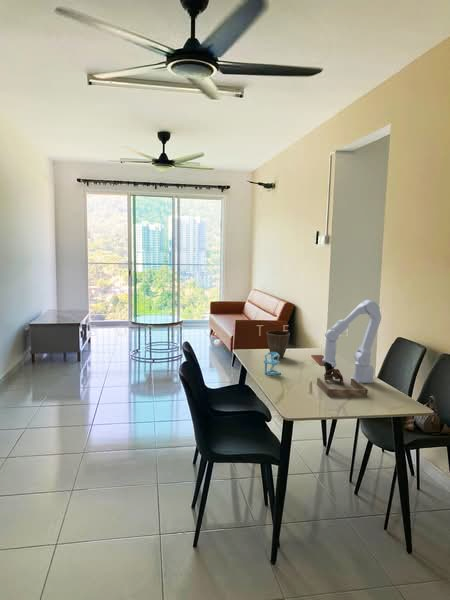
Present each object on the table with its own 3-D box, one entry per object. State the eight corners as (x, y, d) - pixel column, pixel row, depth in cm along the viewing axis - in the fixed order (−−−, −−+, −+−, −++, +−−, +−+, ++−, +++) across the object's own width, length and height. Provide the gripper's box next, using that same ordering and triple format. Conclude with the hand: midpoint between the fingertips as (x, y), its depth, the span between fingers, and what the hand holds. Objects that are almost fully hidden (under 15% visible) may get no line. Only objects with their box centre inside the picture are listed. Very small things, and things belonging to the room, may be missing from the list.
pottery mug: (343, 387, 208) (336, 374, 207) (326, 391, 213) (319, 378, 212) (347, 375, 218) (340, 362, 217) (331, 380, 223) (325, 367, 222)
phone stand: (261, 373, 226) (262, 352, 224) (271, 370, 231) (272, 350, 230) (271, 376, 220) (272, 355, 219) (281, 373, 226) (282, 353, 224)
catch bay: (352, 384, 212) (353, 378, 211) (367, 396, 195) (367, 389, 194) (316, 384, 210) (317, 377, 209) (328, 396, 193) (328, 389, 192)
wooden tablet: (336, 367, 245) (336, 364, 245) (320, 367, 245) (320, 364, 244) (323, 356, 272) (324, 353, 271) (309, 355, 271) (309, 353, 271)
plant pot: (264, 359, 255) (265, 334, 253) (266, 353, 270) (267, 329, 268) (288, 361, 253) (289, 336, 251) (288, 355, 267) (290, 331, 265)
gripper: (318, 348, 225) (317, 371, 227) (327, 355, 211) (325, 380, 213) (331, 348, 226) (329, 372, 228) (340, 355, 212) (338, 380, 213)
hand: (328, 376), depth 220 cm, fingers closed
